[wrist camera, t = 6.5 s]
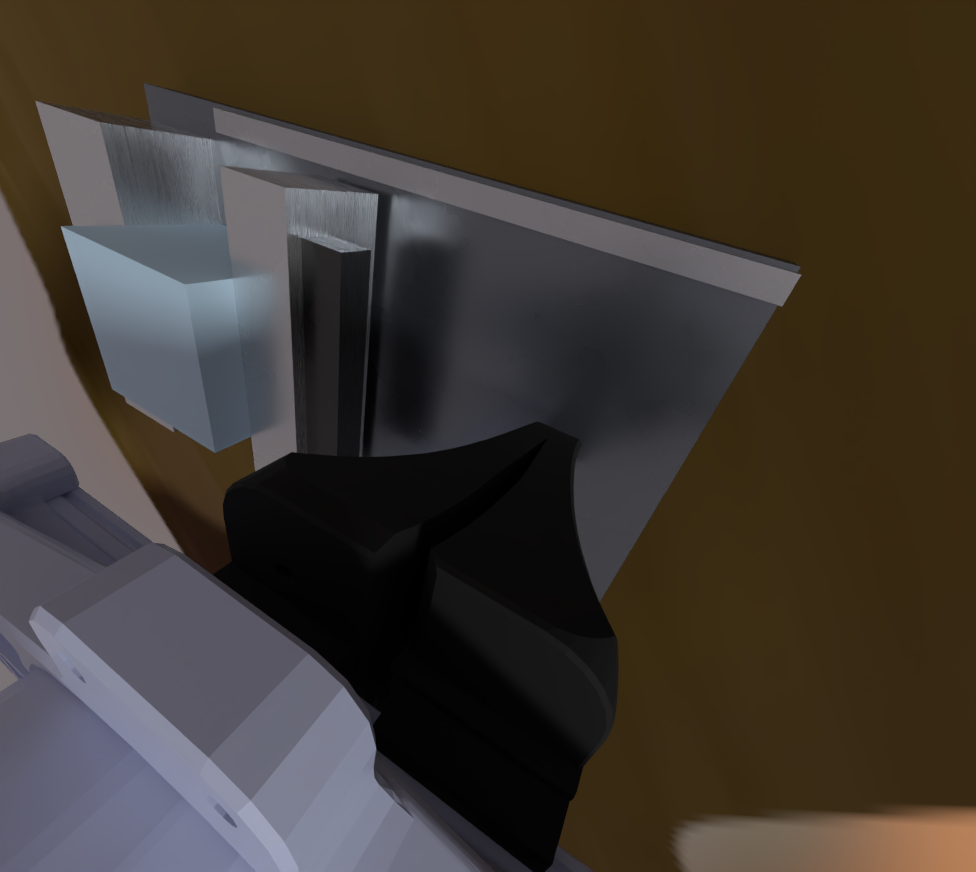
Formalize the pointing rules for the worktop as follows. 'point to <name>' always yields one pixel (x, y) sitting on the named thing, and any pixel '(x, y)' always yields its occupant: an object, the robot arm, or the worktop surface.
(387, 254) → the vise
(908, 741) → the worktop surface
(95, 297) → the steel block
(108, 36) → the worktop surface
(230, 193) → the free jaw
